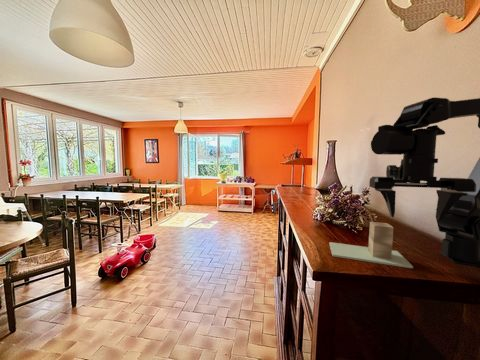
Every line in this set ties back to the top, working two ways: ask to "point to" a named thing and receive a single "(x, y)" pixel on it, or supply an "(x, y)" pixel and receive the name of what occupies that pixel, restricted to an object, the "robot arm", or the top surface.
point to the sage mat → (366, 255)
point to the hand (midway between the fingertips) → (414, 218)
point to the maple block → (380, 240)
